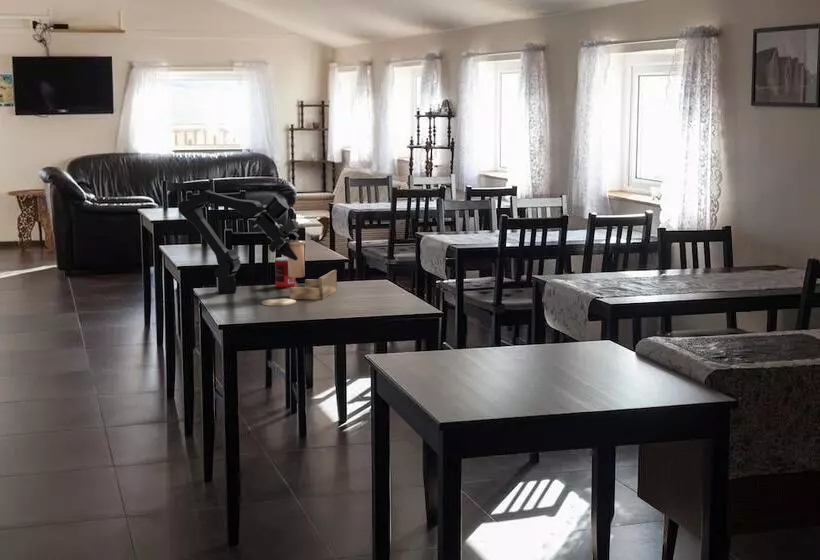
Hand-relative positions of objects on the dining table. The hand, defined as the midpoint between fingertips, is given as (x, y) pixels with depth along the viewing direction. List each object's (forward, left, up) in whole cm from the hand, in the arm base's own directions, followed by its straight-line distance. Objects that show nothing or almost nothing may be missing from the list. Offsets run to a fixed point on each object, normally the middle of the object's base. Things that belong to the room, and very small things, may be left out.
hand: (299, 258), depth 407 cm
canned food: (-1, +22, -14) cm, 26 cm away
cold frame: (+4, -1, -13) cm, 14 cm away
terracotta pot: (-1, +1, -7) cm, 7 cm away
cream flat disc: (-11, -16, -13) cm, 23 cm away
